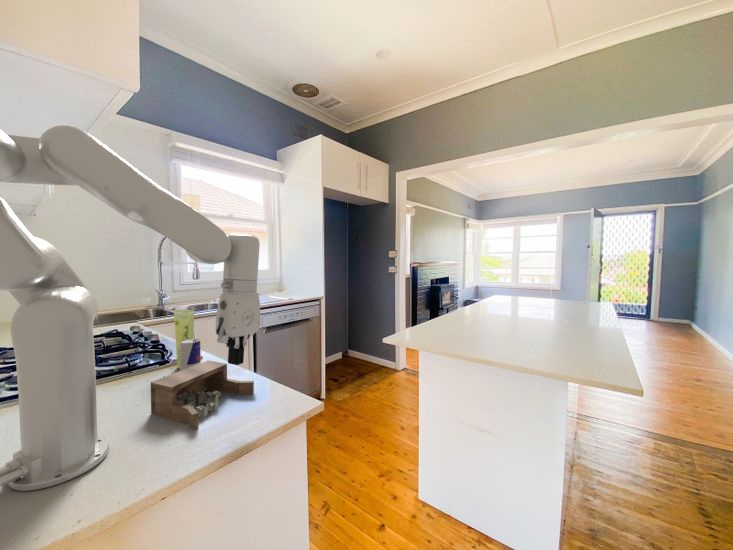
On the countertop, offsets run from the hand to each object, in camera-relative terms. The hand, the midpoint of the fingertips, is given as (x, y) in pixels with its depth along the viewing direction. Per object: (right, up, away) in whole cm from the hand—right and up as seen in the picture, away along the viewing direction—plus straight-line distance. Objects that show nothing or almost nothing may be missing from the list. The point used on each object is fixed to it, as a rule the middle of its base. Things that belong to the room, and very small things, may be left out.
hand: (235, 363), depth 71 cm
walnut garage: (-10, -12, +5) cm, 17 cm away
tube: (-31, -10, +31) cm, 45 cm away
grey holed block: (-11, -13, +3) cm, 17 cm away
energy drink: (-23, -11, +20) cm, 33 cm away
